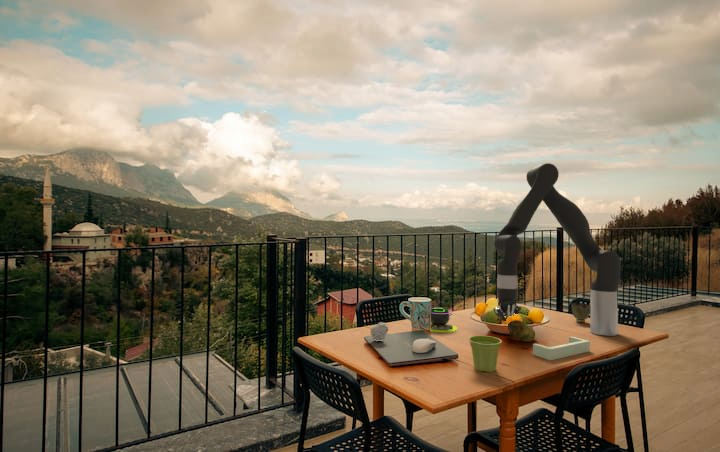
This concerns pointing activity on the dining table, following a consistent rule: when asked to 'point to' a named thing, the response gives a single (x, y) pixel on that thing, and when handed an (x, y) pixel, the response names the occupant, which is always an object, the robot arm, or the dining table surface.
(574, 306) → the cup
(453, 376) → the dining table surface
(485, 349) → the plant pot
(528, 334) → the olive green oval lump
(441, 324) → the toy cauldron
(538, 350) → the corral
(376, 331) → the grey rough lump
